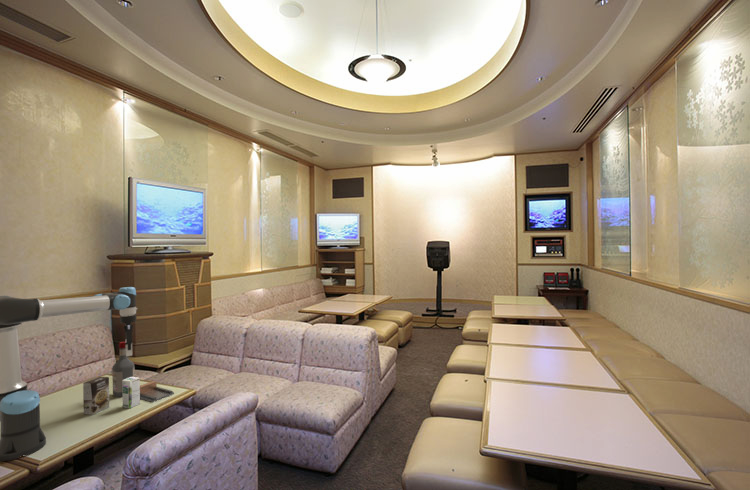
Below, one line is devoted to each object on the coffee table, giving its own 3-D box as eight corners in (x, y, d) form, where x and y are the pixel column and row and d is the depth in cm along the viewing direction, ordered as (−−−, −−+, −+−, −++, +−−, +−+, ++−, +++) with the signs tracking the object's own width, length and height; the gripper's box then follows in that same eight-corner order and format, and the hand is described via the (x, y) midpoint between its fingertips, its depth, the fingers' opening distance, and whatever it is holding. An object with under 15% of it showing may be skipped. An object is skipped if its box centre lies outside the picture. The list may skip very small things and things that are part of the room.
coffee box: (93, 415, 177) (92, 383, 177) (83, 414, 178) (82, 382, 178) (110, 406, 186) (109, 376, 186) (100, 406, 187) (99, 376, 187)
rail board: (152, 402, 190) (152, 393, 190) (133, 396, 198) (133, 387, 198) (174, 393, 200) (173, 385, 200) (155, 388, 209) (155, 380, 209)
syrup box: (122, 407, 185) (121, 380, 185) (132, 402, 190) (132, 376, 190) (130, 408, 183) (129, 381, 183) (140, 403, 189) (140, 377, 189)
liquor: (119, 398, 196) (117, 345, 196) (111, 395, 201) (110, 343, 201) (136, 392, 204) (135, 341, 204) (128, 389, 209) (127, 339, 209)
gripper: (137, 317, 186) (138, 356, 186) (135, 311, 206) (136, 346, 206) (120, 319, 182) (121, 359, 182) (119, 312, 202) (120, 349, 202)
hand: (129, 352), depth 194 cm, fingers open, 13 cm apart
